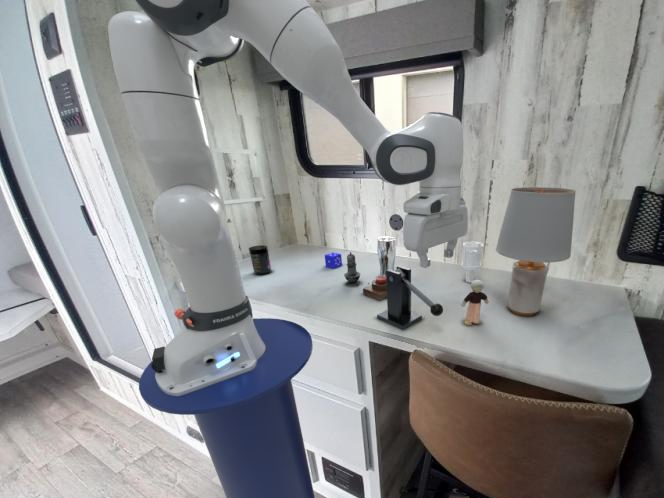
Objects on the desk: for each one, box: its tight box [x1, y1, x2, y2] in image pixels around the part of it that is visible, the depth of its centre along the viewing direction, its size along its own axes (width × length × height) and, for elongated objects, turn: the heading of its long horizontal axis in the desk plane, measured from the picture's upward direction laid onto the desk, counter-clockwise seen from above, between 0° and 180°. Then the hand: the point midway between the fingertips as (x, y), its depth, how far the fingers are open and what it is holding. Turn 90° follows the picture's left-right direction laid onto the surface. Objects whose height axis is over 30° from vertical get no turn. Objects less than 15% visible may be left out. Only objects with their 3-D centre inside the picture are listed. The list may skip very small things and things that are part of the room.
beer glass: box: [376, 236, 397, 277], centre depth 115 cm, size 7×7×15 cm
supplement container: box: [248, 244, 273, 276], centre depth 122 cm, size 7×7×10 cm
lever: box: [394, 268, 444, 317], centre depth 79 cm, size 17×3×3 cm, turn 48°
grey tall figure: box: [343, 251, 361, 287], centre depth 110 cm, size 6×6×12 cm
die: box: [324, 252, 343, 269], centre depth 130 cm, size 5×5×5 cm
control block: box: [362, 278, 387, 301], centre depth 104 cm, size 10×8×4 cm
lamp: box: [495, 186, 577, 317], centre depth 84 cm, size 19×19×34 cm
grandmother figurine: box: [460, 279, 489, 326], centre depth 82 cm, size 8×4×13 cm, turn 114°
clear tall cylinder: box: [460, 241, 484, 283], centre depth 110 cm, size 7×7×15 cm
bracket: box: [376, 265, 423, 331], centre depth 84 cm, size 10×8×15 cm
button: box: [375, 275, 387, 284], centre depth 103 cm, size 4×4×2 cm
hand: (437, 261), depth 72 cm, fingers open, 8 cm apart
